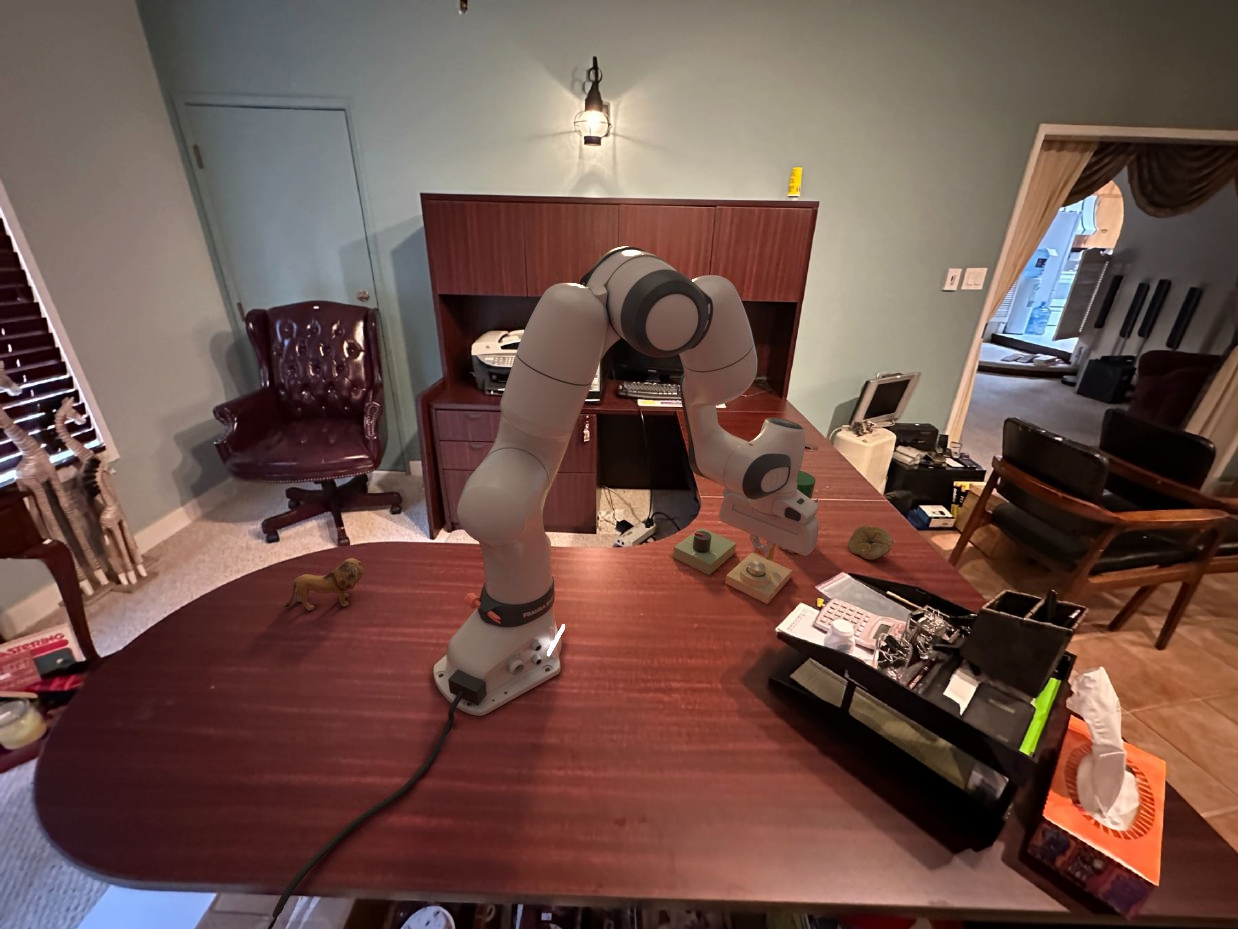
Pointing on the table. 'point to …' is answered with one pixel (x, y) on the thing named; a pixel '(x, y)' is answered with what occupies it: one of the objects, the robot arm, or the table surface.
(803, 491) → the lamp
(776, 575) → the lamp base
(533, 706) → the table surface
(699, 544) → the dimmer knob
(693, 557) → the dimmer panel
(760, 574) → the lamp button
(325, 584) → the lion figurine
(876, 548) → the fossil
